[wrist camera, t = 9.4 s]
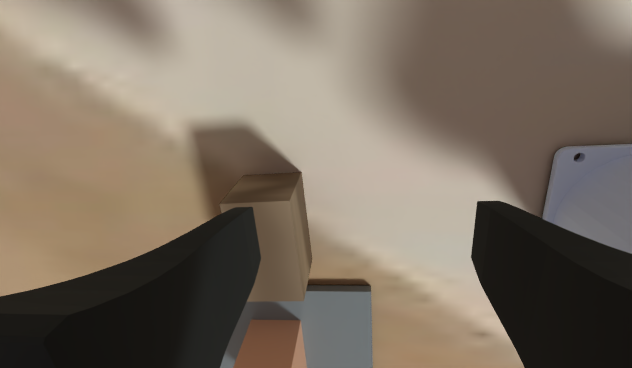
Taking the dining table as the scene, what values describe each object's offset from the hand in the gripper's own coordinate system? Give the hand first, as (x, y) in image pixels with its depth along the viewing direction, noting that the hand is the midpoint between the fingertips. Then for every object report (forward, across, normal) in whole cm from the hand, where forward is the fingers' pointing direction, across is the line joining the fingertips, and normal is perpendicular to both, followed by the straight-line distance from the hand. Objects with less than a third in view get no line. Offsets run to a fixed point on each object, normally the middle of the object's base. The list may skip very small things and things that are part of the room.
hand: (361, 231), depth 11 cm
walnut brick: (+9, +5, +4) cm, 11 cm away
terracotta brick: (+8, +6, +14) cm, 18 cm away
